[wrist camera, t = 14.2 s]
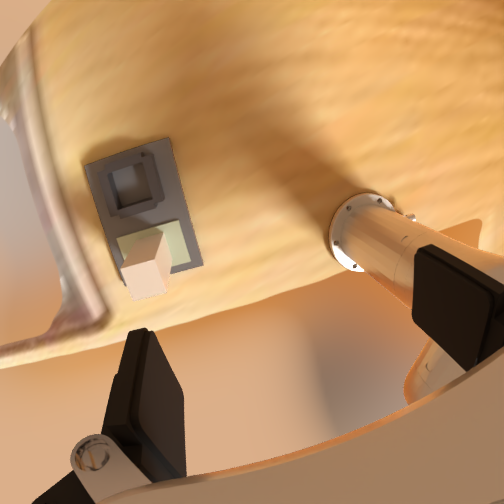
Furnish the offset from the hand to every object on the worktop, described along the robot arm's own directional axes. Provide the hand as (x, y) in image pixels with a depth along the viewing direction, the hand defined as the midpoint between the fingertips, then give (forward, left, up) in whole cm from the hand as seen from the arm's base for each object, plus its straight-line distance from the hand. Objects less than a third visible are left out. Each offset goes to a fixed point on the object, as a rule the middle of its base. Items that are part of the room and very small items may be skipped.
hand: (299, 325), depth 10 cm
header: (+11, +1, -33) cm, 35 cm away
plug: (+11, +6, -32) cm, 34 cm away
